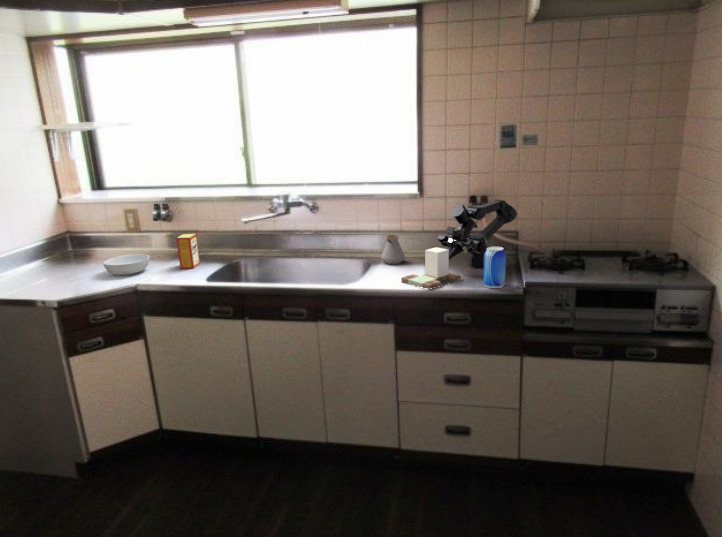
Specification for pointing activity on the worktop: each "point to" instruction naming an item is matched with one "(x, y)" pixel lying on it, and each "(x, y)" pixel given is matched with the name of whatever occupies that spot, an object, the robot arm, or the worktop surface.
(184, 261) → the baking soda box
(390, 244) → the coffee pot
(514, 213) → the robot arm
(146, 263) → the serving bowl
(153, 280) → the worktop surface
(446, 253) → the cream block
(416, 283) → the green pad
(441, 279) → the walnut trap board
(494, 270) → the beer can
